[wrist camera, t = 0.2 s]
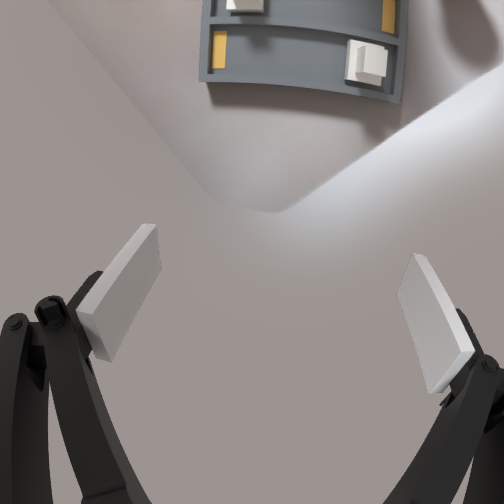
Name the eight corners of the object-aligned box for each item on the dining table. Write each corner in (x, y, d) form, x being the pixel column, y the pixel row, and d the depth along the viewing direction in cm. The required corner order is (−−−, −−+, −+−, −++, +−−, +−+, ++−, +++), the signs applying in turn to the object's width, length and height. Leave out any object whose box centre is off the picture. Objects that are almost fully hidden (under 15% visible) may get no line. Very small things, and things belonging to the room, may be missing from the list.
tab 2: (347, 41, 28) (358, 34, 23) (379, 48, 28) (395, 43, 23) (344, 79, 31) (354, 79, 26) (375, 85, 30) (391, 87, 25)
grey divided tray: (212, -26, 26) (205, -34, 23) (399, -5, 24) (408, -11, 22) (206, 81, 35) (198, 82, 32) (391, 102, 33) (399, 104, 30)
